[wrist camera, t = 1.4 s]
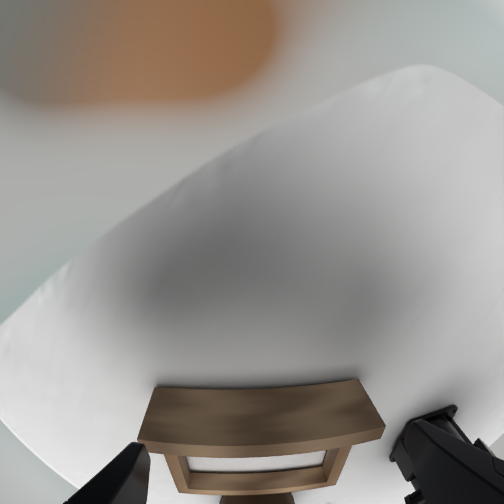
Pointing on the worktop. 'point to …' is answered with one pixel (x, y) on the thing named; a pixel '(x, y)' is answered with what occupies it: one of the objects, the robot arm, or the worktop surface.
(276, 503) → the beer bottle
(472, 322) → the worktop surface
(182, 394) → the brown wooden frame
